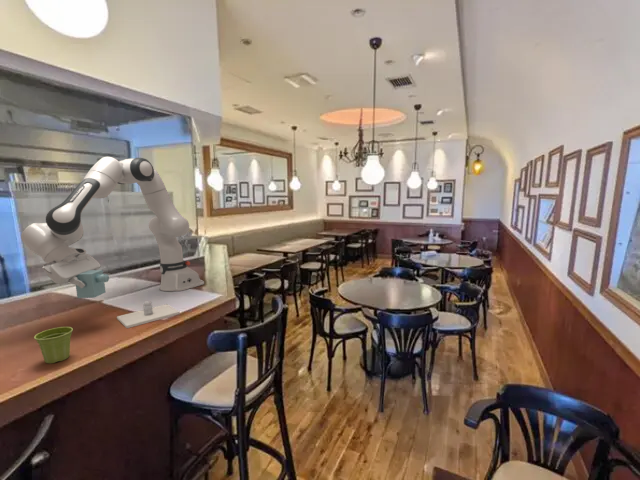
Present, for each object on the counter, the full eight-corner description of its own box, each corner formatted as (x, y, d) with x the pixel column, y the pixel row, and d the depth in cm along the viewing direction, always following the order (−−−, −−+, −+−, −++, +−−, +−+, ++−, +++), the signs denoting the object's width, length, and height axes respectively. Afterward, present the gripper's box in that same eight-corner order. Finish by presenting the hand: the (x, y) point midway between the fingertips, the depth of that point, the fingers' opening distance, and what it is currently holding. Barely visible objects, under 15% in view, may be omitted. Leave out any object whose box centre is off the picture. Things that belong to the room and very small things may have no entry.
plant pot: (55, 351, 109) (51, 326, 108) (83, 351, 109) (80, 326, 107) (29, 366, 100) (25, 339, 98) (60, 366, 99) (56, 339, 98)
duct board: (167, 306, 150) (165, 292, 149) (179, 313, 140) (178, 298, 139) (116, 318, 136) (115, 303, 135) (126, 328, 126) (124, 311, 125)
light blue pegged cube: (89, 292, 130) (86, 270, 129) (113, 292, 130) (110, 269, 129) (77, 298, 124) (74, 274, 122) (103, 297, 124) (99, 274, 122)
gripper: (44, 258, 114) (76, 285, 115) (86, 248, 134) (113, 271, 136) (33, 271, 115) (66, 298, 116) (77, 259, 135) (104, 281, 136)
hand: (91, 283), depth 126 cm, fingers closed on light blue pegged cube, 6 cm apart
